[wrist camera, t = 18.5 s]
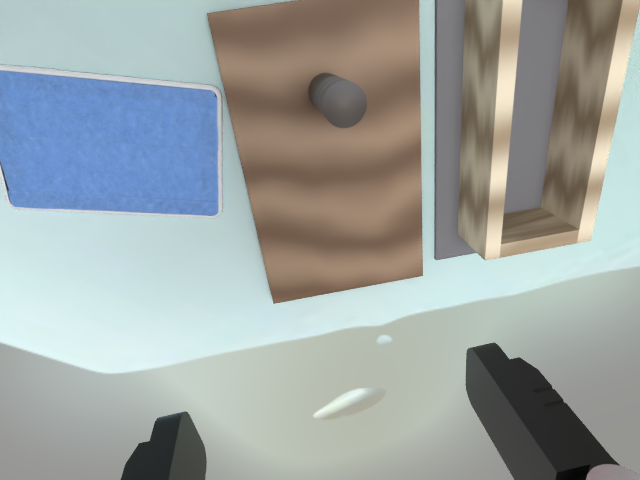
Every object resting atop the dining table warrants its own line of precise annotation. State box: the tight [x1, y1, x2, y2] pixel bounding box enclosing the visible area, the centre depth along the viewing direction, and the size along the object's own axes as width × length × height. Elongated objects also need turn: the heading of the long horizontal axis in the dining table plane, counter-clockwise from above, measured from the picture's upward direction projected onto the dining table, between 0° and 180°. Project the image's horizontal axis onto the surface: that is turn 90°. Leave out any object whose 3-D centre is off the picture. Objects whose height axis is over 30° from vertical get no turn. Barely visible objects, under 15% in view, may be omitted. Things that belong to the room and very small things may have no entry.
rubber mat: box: [435, 0, 568, 260], centre depth 39 cm, size 30×15×1 cm, turn 8°
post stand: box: [207, 0, 423, 304], centre depth 34 cm, size 28×17×10 cm, turn 8°
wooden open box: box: [458, 0, 640, 260], centre depth 36 cm, size 24×11×6 cm, turn 8°
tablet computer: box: [0, 64, 223, 218], centre depth 35 cm, size 19×13×1 cm, turn 84°
